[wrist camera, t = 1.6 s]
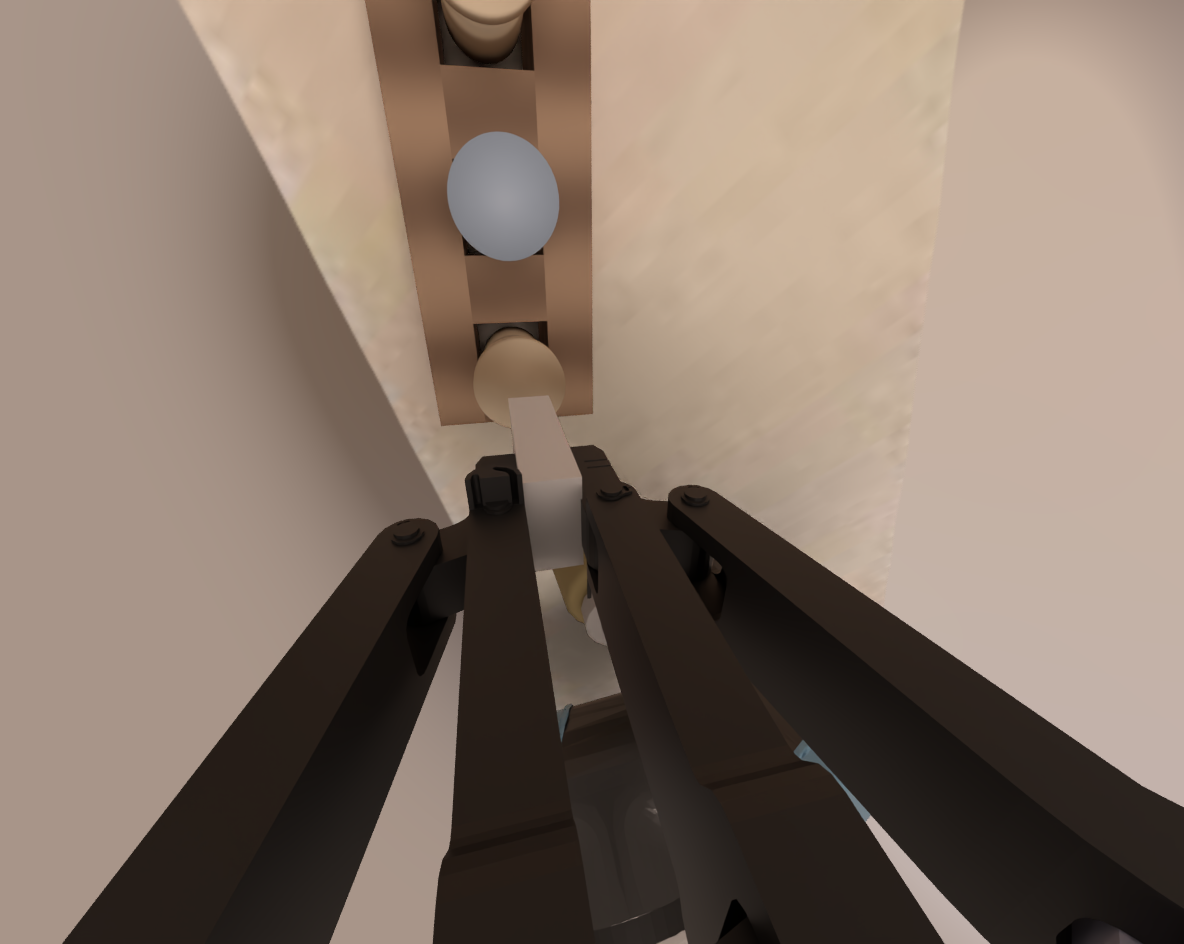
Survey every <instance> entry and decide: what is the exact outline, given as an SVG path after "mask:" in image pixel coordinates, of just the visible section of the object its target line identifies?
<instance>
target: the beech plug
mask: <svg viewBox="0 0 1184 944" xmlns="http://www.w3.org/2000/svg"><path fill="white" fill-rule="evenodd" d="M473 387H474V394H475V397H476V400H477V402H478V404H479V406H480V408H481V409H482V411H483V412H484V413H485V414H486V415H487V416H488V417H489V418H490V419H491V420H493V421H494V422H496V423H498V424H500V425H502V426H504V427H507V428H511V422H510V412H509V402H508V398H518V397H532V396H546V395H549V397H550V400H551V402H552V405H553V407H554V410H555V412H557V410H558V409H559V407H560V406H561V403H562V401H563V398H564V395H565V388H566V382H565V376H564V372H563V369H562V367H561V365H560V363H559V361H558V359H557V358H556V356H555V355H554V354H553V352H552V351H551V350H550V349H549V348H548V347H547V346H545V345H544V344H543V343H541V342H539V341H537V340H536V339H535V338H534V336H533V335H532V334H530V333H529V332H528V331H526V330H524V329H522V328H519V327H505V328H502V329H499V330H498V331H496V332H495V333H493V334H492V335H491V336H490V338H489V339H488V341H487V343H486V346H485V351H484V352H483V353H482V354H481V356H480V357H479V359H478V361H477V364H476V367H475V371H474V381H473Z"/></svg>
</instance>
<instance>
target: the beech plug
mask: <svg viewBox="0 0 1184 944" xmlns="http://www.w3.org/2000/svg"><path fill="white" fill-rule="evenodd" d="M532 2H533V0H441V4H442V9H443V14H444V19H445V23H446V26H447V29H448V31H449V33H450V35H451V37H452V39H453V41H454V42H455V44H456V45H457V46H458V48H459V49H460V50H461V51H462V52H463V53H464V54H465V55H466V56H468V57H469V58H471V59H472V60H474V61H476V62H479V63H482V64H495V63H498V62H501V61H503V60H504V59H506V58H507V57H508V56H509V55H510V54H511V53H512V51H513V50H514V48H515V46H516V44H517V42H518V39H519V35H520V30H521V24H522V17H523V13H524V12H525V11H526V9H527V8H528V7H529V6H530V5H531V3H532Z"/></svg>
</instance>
